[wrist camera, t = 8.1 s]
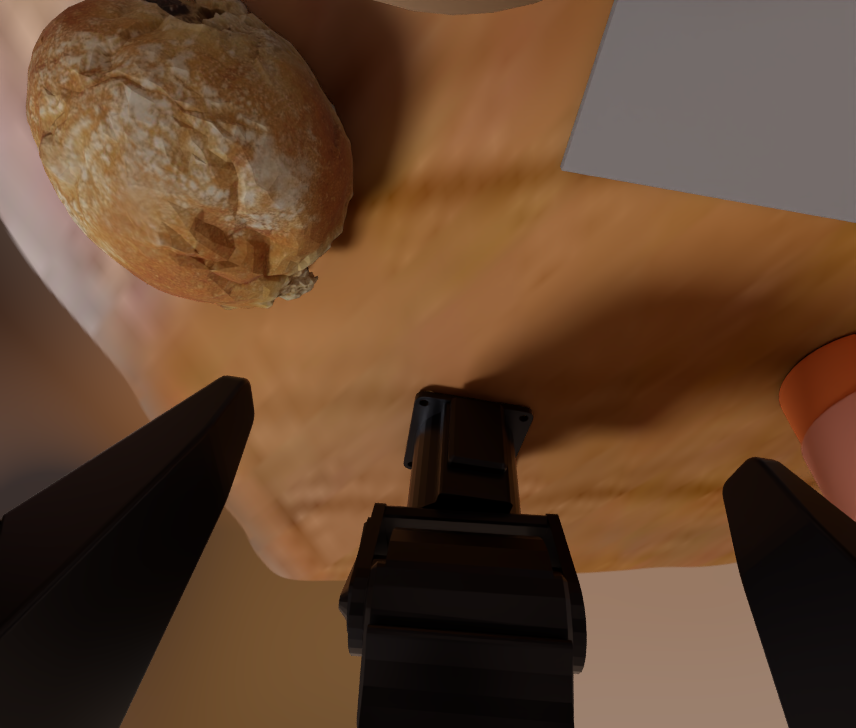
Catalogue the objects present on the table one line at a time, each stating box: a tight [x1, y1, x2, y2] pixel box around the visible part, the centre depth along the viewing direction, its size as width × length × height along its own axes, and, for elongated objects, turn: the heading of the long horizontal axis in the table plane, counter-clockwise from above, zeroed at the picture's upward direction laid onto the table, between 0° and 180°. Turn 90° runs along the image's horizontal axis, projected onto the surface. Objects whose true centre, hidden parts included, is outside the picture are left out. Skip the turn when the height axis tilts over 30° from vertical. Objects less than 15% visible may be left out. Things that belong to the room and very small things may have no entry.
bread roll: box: [26, 0, 354, 310], centre depth 16 cm, size 10×10×8 cm
